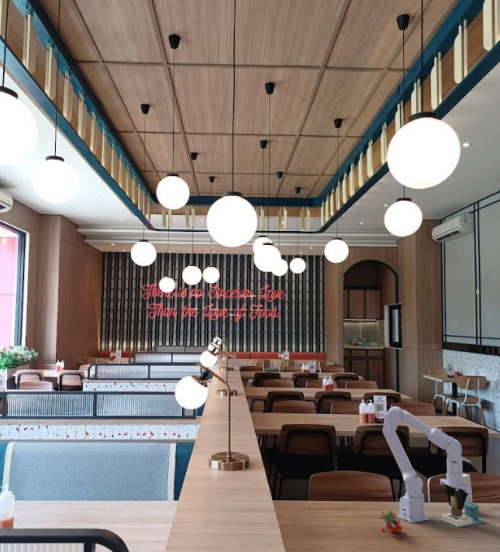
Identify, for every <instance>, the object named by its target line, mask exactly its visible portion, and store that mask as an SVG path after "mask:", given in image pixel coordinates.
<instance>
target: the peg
mask: <svg viewBox="0 0 500 552" xmlns="http://www.w3.org/2000/svg"><path fill="white" fill-rule="evenodd" d="M450 511H451V512H450V513H451V515H453V516H458V517H459V516H462V515H463V513H462V510H459V509H458V505H457V498H456V495H451V509H450Z"/></svg>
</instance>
